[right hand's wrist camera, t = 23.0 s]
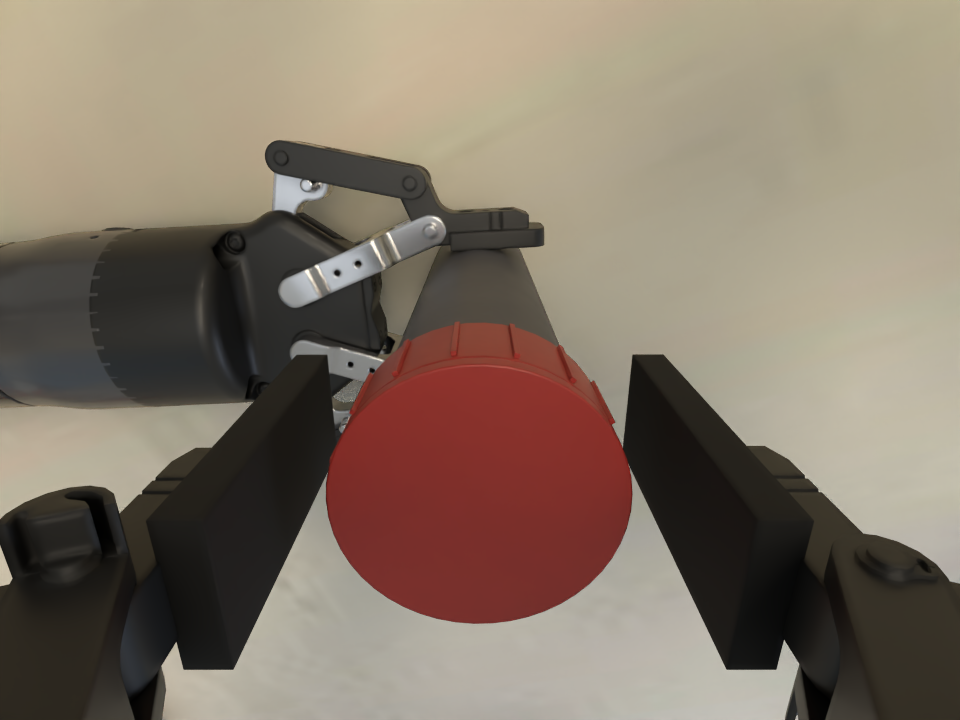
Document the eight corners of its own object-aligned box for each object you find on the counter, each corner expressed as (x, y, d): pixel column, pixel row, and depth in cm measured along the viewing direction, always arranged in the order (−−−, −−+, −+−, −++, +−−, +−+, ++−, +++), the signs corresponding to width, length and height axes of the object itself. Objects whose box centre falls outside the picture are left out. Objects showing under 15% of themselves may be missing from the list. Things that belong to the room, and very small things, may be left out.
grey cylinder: (459, 331, 30) (429, 604, 12) (417, 252, 29) (308, 426, 11) (540, 293, 30) (638, 521, 11) (501, 209, 28) (540, 316, 10)
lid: (591, 548, 13) (614, 630, 11) (357, 541, 13) (332, 621, 11) (621, 325, 11) (656, 368, 9) (347, 315, 11) (313, 356, 9)
